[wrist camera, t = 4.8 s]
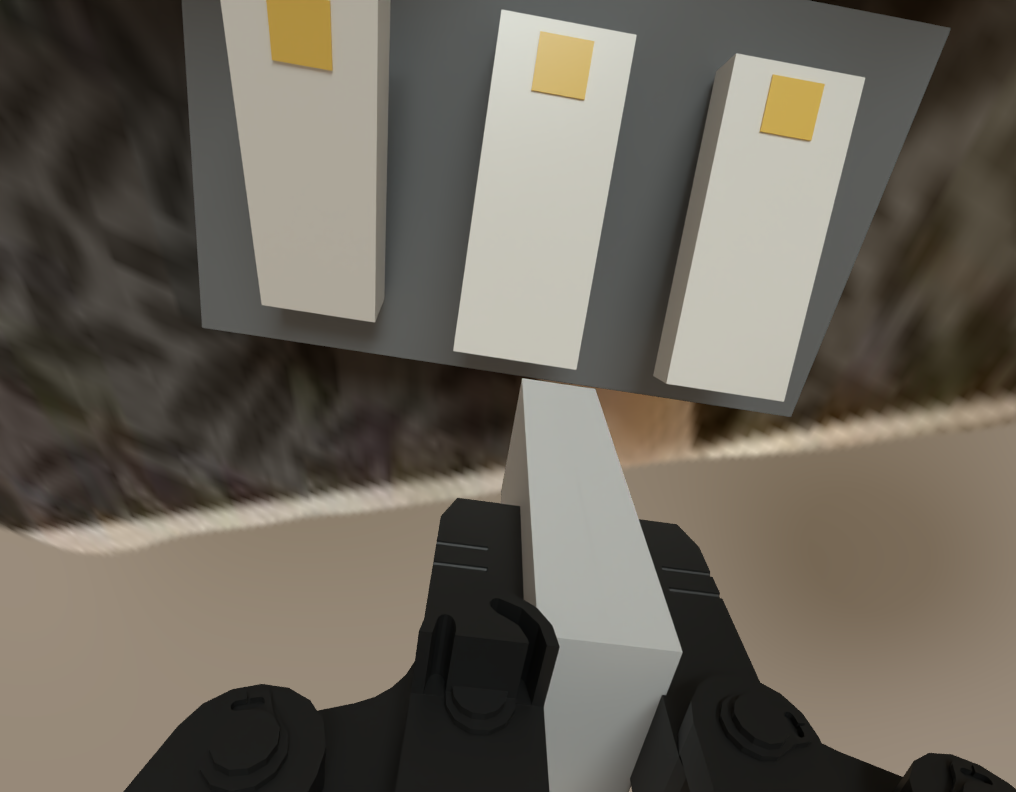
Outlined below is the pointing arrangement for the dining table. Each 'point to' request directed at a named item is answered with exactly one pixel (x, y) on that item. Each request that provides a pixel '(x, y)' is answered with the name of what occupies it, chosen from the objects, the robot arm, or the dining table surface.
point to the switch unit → (633, 186)
